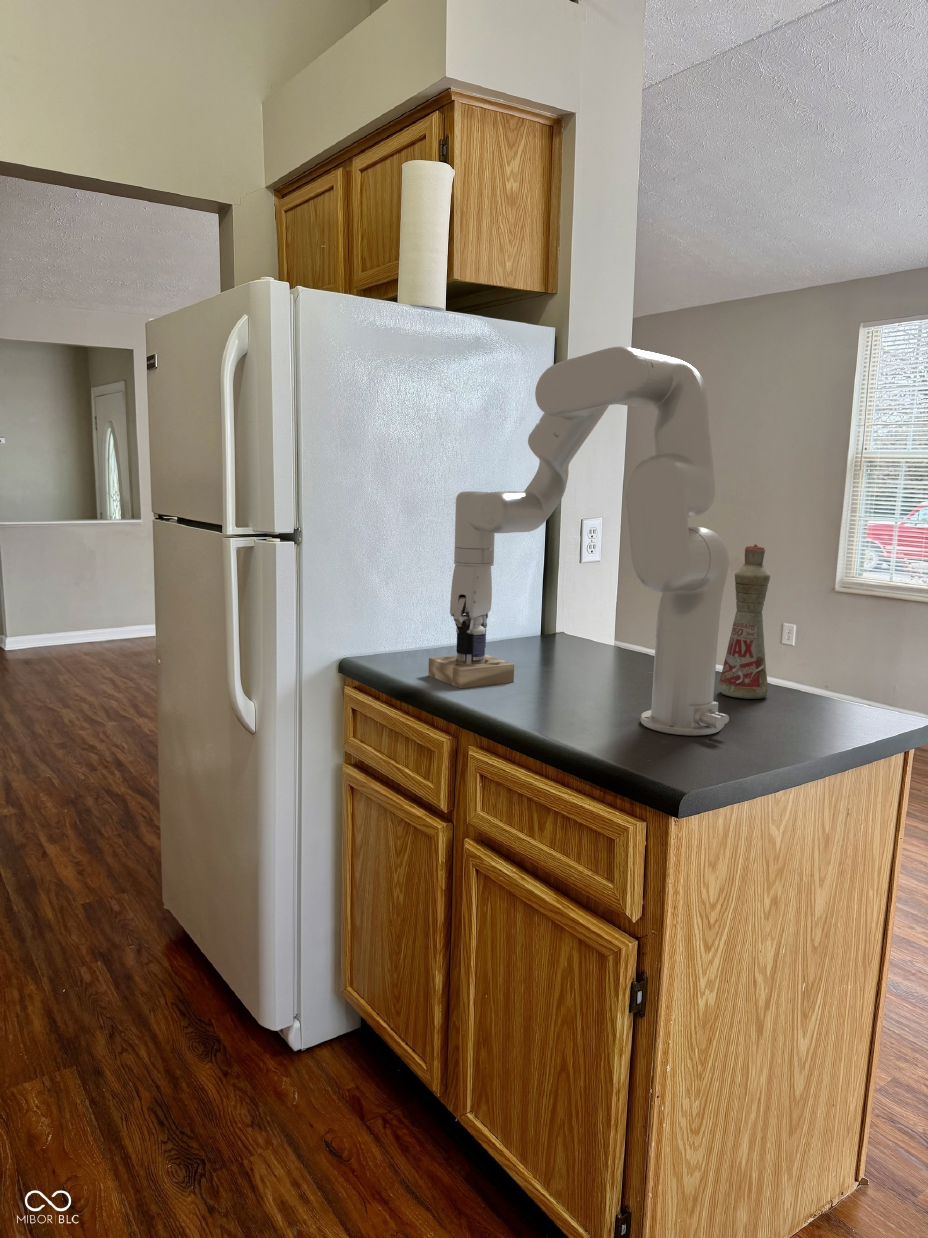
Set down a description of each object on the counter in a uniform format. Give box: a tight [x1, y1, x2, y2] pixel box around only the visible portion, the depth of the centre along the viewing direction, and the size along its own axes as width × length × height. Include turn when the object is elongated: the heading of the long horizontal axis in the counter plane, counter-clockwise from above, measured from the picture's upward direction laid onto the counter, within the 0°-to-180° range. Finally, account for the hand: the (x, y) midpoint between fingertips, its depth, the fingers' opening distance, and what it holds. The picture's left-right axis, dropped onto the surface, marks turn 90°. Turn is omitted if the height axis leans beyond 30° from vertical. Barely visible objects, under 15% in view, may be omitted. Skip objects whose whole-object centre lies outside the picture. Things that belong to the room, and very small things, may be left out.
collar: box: [427, 654, 515, 689], centre depth 170 cm, size 12×12×4 cm
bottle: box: [718, 543, 771, 700], centre depth 161 cm, size 9×9×28 cm
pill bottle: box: [456, 614, 487, 665], centre depth 169 cm, size 5×5×10 cm
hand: (471, 650), depth 170 cm, fingers closed on pill bottle, 5 cm apart
